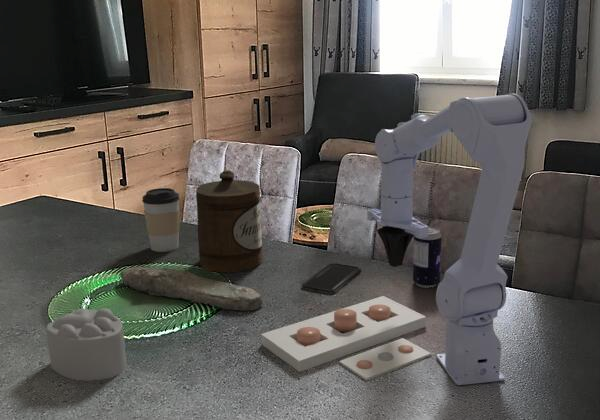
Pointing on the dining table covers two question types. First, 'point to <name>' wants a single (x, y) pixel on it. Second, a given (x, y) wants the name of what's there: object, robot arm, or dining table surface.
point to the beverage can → (427, 259)
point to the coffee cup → (162, 218)
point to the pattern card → (384, 359)
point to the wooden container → (229, 224)
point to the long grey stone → (191, 288)
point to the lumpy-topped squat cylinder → (87, 345)
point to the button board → (336, 342)
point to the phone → (331, 278)
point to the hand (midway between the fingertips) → (395, 265)
